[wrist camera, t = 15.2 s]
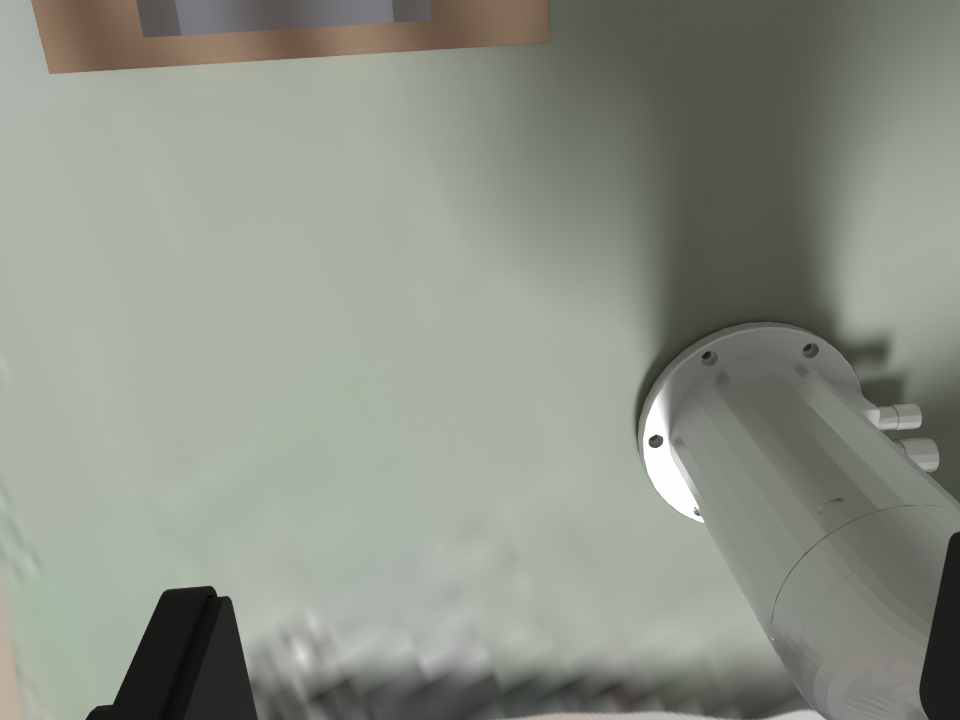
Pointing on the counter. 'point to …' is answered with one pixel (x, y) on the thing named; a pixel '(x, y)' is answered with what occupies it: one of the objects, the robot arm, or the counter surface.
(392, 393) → the counter surface
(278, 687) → the counter surface
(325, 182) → the counter surface
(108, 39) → the collar stand
